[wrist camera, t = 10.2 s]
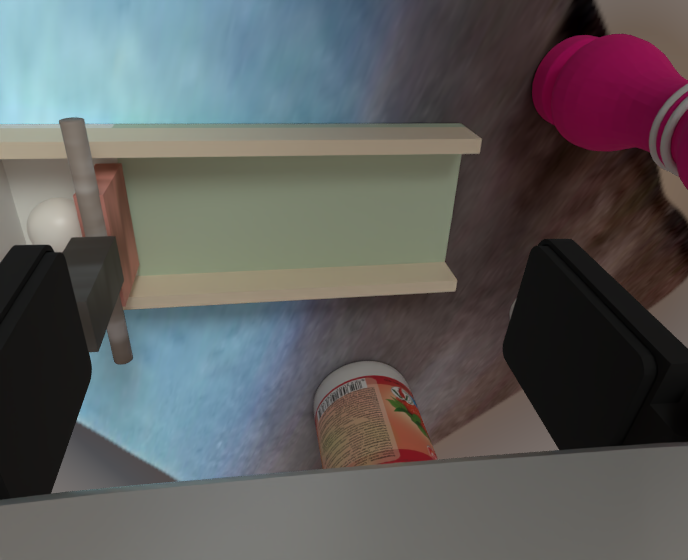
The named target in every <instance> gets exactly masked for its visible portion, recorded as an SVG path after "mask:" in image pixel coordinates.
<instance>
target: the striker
mask: <svg viewBox="0 0 688 560" xmlns="http://www.w3.org/2000/svg"><path fill="white" fill-rule="evenodd" d="M59 124H60V128H61V132H62V137H63V141H64V145H65V150H66V154H67V158H68V163H69V167H70V171H71V176H72V180H73V184H74V189H75V194H74V195H73V198H74V203H75V207H76V211H77V216H78V220H79V224H80V228H81V233H82V237H72V238H71V239H70V241H69V242H68V244H67V246H66V247H65V249H64V251H63V252H62V253H63V254H64V256H65V259H66V262H67V266H68V270H69V274H70V278H71V282H72V287H73V291H74V295H75V299H76V303H77V307H78V311H79V315H80V319H81V323H82V327H83V331H84V335H85V339H86V343H87V348H88V352H98V351H99V349H100V346H101V343H102V340H103V338H104V335H105V332H106V329H107V332H108V337H109V341H110V345H111V350H112V354H113V358H114V362H115V363H116V364H126V363H129V362H130V361H131V360H132V359H133V355H132V350H131V345H130V340H129V335H128V331H127V326H126V321H125V316H124V311H123V307H126V303H127V300H128V297H129V294H130V291H131V288H132V285H133V282H134V279H135V276H136V273H137V270H138V267H139V259H138V253H137V248H136V242H135V236H134V231H133V225H132V219H131V214H130V208H129V203H128V197H127V191H126V186H125V180H124V174H123V169H122V163H105V164H95V165H93V161H92V156H91V151H90V146H89V141H88V136H87V131H86V127H85V122H84V119H82V118H65V119H61V120H59Z"/></svg>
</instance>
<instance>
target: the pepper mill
mask: <svg viewBox="0 0 688 560" xmlns="http://www.w3.org/2000/svg"><path fill="white" fill-rule="evenodd" d="M532 98H533V103H534V106H535V108H536V111H537V112H538V114H539V115H540V116H541V117H542V118H543V119H544V120H546V121H547V122H549V123H551V124H553V125H555V126H556V128H557V130H558V131H559V133H560V134H561V135H562V136H563V137H564V138H565V139H566V140H567V141H569V142H570V143H572V144H574V145H576V146H579V147H582V148H584V149H587V150H592V151H616V150H622V149H628V148H633V147H637V148H640V149H643V150H646V151H649V152H650V153H651V156H652V158H653V160H654V161H655V163H656V164H657V165H658V166H659V167H661V168H662V169H664V170H667V171H669V172H671V173H672V174H674V175H676V176H679V177H680V179H681V181H682V182H683V184H684V186H685V187H686V188H687V189H688V80H686V79H684V78H683V77H681V76H680V74H679V73H678V72H677V71H676V70H675V68H674V67H673V65H672V64H671V62H670V61H669V60H668V58H667V57H666V56H665V54H663V53H662V52H661V51H660V50H659V49H658V48H656V47H655V46H654V45H652V44H651V43H649V42H647V41H645V40H643V39H640V38H637V37H635V36H632V35H627V34H612V35H607V36H603V37H600V38H599V37H595V36H590V35H579V36H573V37H571V38H568V39H566V40H563V41H562V42H560V43H559V44H557V45H556V46H555V47H553V48H552V49H551V50H550V51H549V52H548V53H547V55H546V56H545V57H544V58H543V60H542V61H541V63H540V65H539V67H538V68H537V71H536V74H535V77H534V81H533V87H532Z"/></svg>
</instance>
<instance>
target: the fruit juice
mask: <svg viewBox="0 0 688 560" xmlns="http://www.w3.org/2000/svg"><path fill="white" fill-rule="evenodd" d="M314 418H315V424H316V431H317V437H318V443H319V449H320V455H321V461H322V468H323V469H329V468H341V467H353V466H366V465H378V464H390V463H402V462H414V461H427V460H438V459H437V457H436V454H435V451H434V449H433V446H432V443H431V441H430V438H429V436H428V433H427V431H426V428H425V426H424V423H423V421H422V418H421V416H420V413H419V411H418V408H417V405H416V403H415V400H414V398H413V395H412V393H411V390H410V388H409V386H408V384H407V382H406V380H405V379H404V377H403V376H402V375H401V374H400V373H399V372H398V371H397V370H396V369H394V368H393V367H391V366H389V365H387V364H384V363H381V362H376V361H360V362H354V363H351V364H347V365H345V366H342V367H340V368H338V369H337V370H335V371H334V372H332V373H331V374H329V375H328V376H327V377H326V378H325V379H324V380H323V382H322V383H321V384H320V386H319V388H318V389H317V392H316V394H315V398H314Z"/></svg>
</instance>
